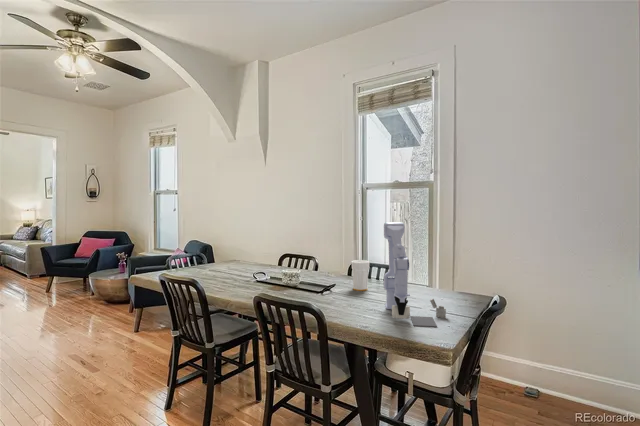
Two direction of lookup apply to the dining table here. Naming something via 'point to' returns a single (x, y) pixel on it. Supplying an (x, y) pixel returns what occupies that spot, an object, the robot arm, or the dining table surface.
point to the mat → (423, 321)
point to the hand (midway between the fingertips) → (400, 313)
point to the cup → (360, 274)
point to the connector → (396, 314)
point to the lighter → (439, 309)
